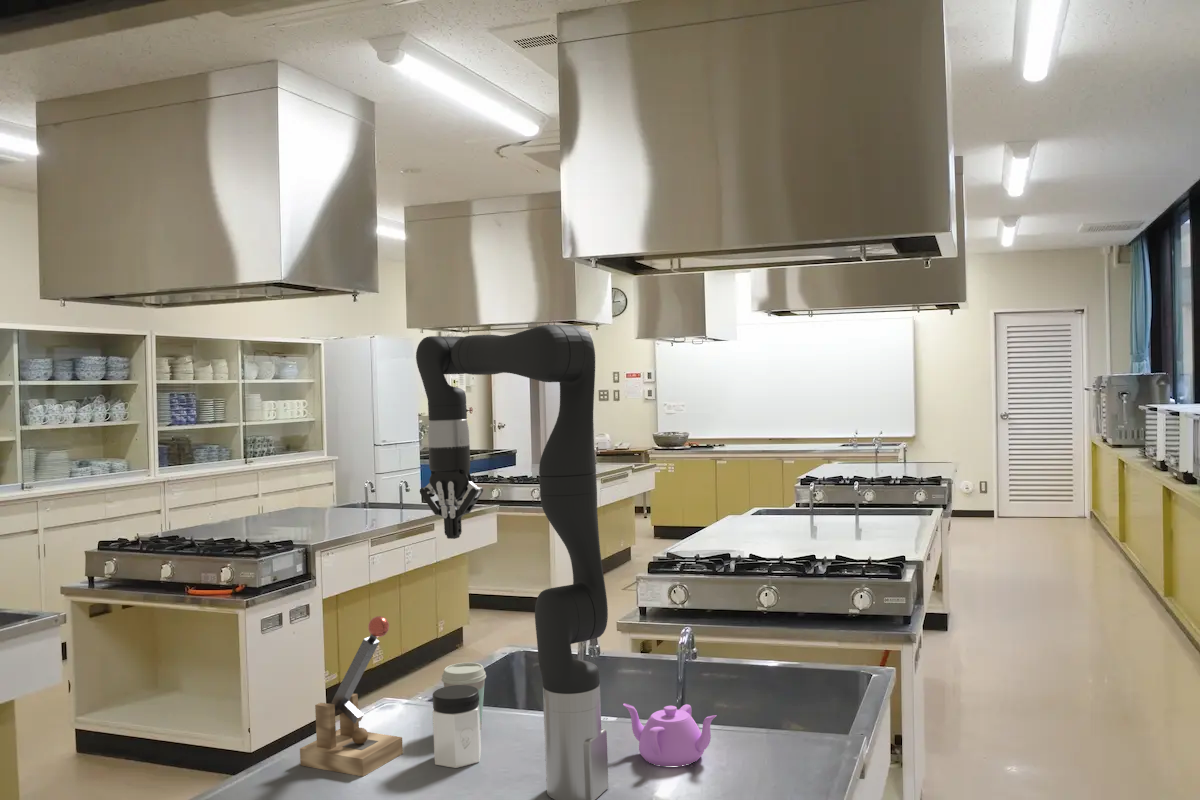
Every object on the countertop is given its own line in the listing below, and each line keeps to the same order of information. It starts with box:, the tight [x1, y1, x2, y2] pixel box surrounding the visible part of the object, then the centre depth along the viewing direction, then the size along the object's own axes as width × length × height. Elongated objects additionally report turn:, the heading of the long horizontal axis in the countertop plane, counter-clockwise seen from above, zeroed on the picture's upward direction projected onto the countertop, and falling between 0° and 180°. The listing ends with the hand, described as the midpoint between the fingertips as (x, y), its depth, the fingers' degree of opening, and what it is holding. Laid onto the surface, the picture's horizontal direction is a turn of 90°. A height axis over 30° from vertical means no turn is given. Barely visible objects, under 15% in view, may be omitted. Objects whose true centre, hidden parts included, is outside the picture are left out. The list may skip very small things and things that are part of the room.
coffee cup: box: [441, 662, 487, 731], centre depth 189 cm, size 8×9×12 cm
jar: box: [432, 685, 482, 769], centre depth 174 cm, size 9×8×12 cm
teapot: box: [622, 703, 717, 766], centre depth 172 cm, size 12×14×9 cm
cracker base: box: [299, 693, 404, 777], centre depth 176 cm, size 14×11×10 cm
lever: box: [330, 615, 390, 723], centre depth 174 cm, size 7×4×21 cm
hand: (453, 538), depth 181 cm, fingers closed
